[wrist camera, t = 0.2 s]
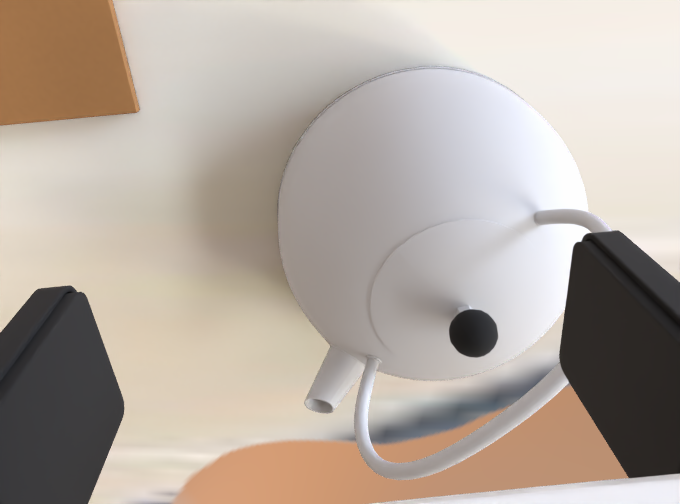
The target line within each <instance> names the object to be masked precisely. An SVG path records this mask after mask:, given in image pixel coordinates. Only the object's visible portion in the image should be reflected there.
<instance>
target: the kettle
mask: <svg viewBox="0 0 680 504" xmlns="http://www.w3.org/2000/svg"><path fill="white" fill-rule="evenodd" d="M277 213H278V238H279V248H280V254H281V260H282V264H283V268H284V271H285V275H286V278H287V280H288V283H289V286H290V288H291V290H292V293H293V295H294V297H295V298H296V300H297V302H298V304H299V306H300V307H301V309H302V310H303V312H304V314H305V315H306V316H307V318H308V319H309V321H310V322H311V323H312V324H313V326H314V327H315V328H316V329H317V331H318V332H319V333H320V334H321V335H322V336H323V338H324V339H325V340H326V341H327V342H328V343H329V344H330V348H329V350H328V353H327V355H326V357H325V359H324V361H323V363H322V365H321V367H320V370H319V372H318V374H317V376H316V378H315V380H314V382H313V384H312V386H311V389H310V391H309V393H308V395H307V397H306V399H305V402H304V404H305V406H306V407H307V408H308V409H310V410H312V411H315V412H318V413H327V414H328V413H332V412H333V411H334V410H335V408H336V407H337V406H338V404H339V403H340V402H341V400H342V399H343V398H344V397H345V395H346V394H347V393H348V391H349V390H350V389H351V388H352V386H353V385H354V384H355V382H356V381H357V380H358V379H359V377H360V376H361V375H362V373H363V376H362V379H361V383H360V387H359V391H358V395H357V400H356V406H355V416H354V429H355V437H356V441H357V446H358V448H359V451H360V453H361V456H362V458H363V459H364V461H365V462H366V464H367V465H368V466H369V467H370V468H371V469H372V470H373V471H374V472H375V473H378V474H379V475H381V476H383V477H386V478H390V479H396V480H410V479H416V478H421V477H425V476H429V475H431V474H434V473H437V472H440V471H442V470H445V469H447V468H449V467H451V466H453V465H455V464H457V463H459V462H461V461H463V460H465V459H466V458H468V457H470V456H472V455H474V454H475V453H477V452H479V451H480V450H482V449H484V448H485V447H486V446H488V445H490V444H491V443H493V442H495V441H496V440H497V439H499V438H500V437H502V436H503V435H505V434H506V433H508V432H509V431H511V430H512V429H514V428H515V427H516V426H518V425H519V424H520V423H522V422H523V421H524V420H526V419H527V418H528V417H530V416H531V415H532V414H534V413H535V412H536V411H537V410H539V409H540V408H541V407H542V406H543V405H545V404H546V403H547V402H548V401H549V400H550V399H552V398H553V397H554V396H555V395H556V394H557V393H558V392H559V391H560V390H562V389H563V388H564V387H565V386H566V385H567V384H568V383H569V381H568V379H567V378H566V376H565V375H564V373H563V371H562V368H561V364H560V362H559V363H558V364H557V366H556V367H555V368H554V369H553V370H552V371H551V372H550V373H549V374H548V375H547V376H545V377H544V378H543V379H542V380H541V381H540V382H539V383H538V384H537V385H536V386H535V387H533V388H532V389H531V390H530V391H529V392H527V393H526V394H525V395H524V396H523V397H522V398H520V399H519V400H518V401H516V402H515V403H514V404H512V405H511V406H510V407H509V408H507V409H506V410H505V411H503V412H502V413H501V414H499V415H498V416H496V417H495V418H493V419H492V420H491V421H489V422H488V423H486V424H485V425H484V426H482V427H480V428H479V429H477V430H476V431H474V432H473V433H471V434H470V435H468V436H467V437H465V438H463V439H462V440H460V441H458V442H457V443H455V444H453V445H451V446H450V447H448V448H446V449H444V450H442V451H440V452H438V453H436V454H433V455H431V456H428V457H426V458H423V459H420V460H416V461H412V462H408V463H391V462H387V461H385V460H383V459H382V458H381V457H379V456H378V455H377V453H376V452H375V450H374V449H373V446H372V444H371V441H370V437H369V432H368V408H369V402H370V397H371V392H372V388H373V384H374V380H375V376H376V373H377V371H379V372H382V373H385V374H389V375H392V376H396V377H401V378H406V379H412V380H423V381H442V380H453V379H459V378H465V377H469V376H473V375H477V374H480V373H483V372H486V371H489V370H491V369H494V368H496V367H498V366H500V365H502V364H504V363H506V362H508V361H510V360H512V359H513V358H515V357H517V356H518V355H520V354H521V353H523V352H524V351H526V350H527V349H528V348H529V347H531V346H532V345H533V344H534V343H536V342H537V341H538V340H539V339H540V338H541V337H542V336H543V335H544V334H545V333H546V332H547V331H548V330H549V329H550V328H551V327H552V325H553V324H554V323H555V322H556V320H557V319H558V318H559V316H560V315H561V314H562V312H563V311H564V309H565V306H566V298H567V290H568V282H569V274H570V267H571V259H572V251H573V246H574V244H575V243H576V242H581V241H582V238H583V237H584V235H585V234H587V233H589V230H590V231H591V232H592V233H597V232H607V231H612V229H611V228H610V227H609V226H608V225H607V224H606V223H605V222H604V221H603V220H602V219H600V218H599V217H598V216H596V215H594V214H592V213H590V212H588V205H587V199H586V194H585V189H584V185H583V182H582V179H581V176H580V173H579V171H578V168H577V166H576V164H575V161H574V159H573V157H572V156H571V154H570V152H569V150H568V148H567V147H566V145H565V144H564V142H563V141H562V139H561V138H560V136H559V135H558V134H557V132H556V131H555V130H554V129H553V128H552V126H551V125H550V124H549V123H548V122H547V121H546V120H545V119H544V118H543V117H542V116H541V115H540V114H539V113H538V112H537V111H536V110H535V109H533V108H532V107H531V106H530V105H529V104H528V103H527V102H526V101H525V100H523V99H522V98H521V97H520V96H519V95H517V94H516V93H515V92H513V91H512V90H510V89H509V88H507V87H505V86H504V85H502V84H500V83H498V82H496V81H494V80H492V79H490V78H488V77H485V76H483V75H480V74H477V73H474V72H470V71H466V70H461V69H456V68H448V67H418V68H410V69H404V70H399V71H395V72H391V73H388V74H384V75H381V76H379V77H376V78H373V79H371V80H369V81H366V82H364V83H362V84H360V85H358V86H356V87H355V88H353V89H351V90H349V91H348V92H346V93H345V94H343V95H342V96H340V97H339V98H338V99H336V100H335V101H334V102H332V103H331V104H330V105H329V106H328V107H327V108H325V109H324V110H323V111H322V112H321V113H320V114H319V115H318V116H317V117H316V118H315V119H314V121H313V122H312V123H311V124H310V125H309V126H308V128H307V129H306V130H305V132H304V133H303V135H302V136H301V137H300V139H299V141H298V142H297V144H296V146H295V147H294V149H293V151H292V153H291V155H290V157H289V160H288V162H287V164H286V167H285V170H284V173H283V177H282V180H281V185H280V190H279V197H278V212H277Z"/></svg>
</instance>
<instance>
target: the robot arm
mask: <svg viewBox="0 0 680 504" xmlns="http://www.w3.org/2000/svg"><path fill="white" fill-rule="evenodd" d="M559 358H560V364H561V368H562V371H563V373H564V375H565V376H566V378H567V379H568V381H569V383H570V384H571V386H572V387H573V389H574V391H575V392H576V394H577V395H578V397H579V399H580V400H581V402H582V403H583V405H584V407H585V408H586V410H587V411H588V413H589V415H590V416H591V418H592V419H593V421H594V423H595V424H596V426H597V427H598V429H599V431H600V432H601V434H602V435H603V437H604V439H605V440H606V442H607V443H608V445H609V447H610V448H611V450H612V451H613V453H614V455H615V456H616V458H617V459H618V461H619V463H620V464H621V466H622V468H623V469H624V471H625V472H626V474H627V476H628V477H629V478H628V479H614V480H603V481H592V482H582V483H573V484H562V485H552V486H541V487H531V488H521V489H511V490H501V491H490V492H480V493H470V494H459V495H449V496H439V497H429V498H420V499H411V500H401V501H391V502H381V503H371V504H680V282H678V281H677V280H676V279H675V278H674V277H673V276H672V275H670V274H669V273H668V272H667V271H666V270H665V269H663V268H662V267H661V266H660V265H659V264H658V263H656V262H655V261H654V260H653V259H652V258H651V257H649V256H648V255H647V254H646V253H645V252H644V251H642V250H641V249H640V248H639V247H638V246H637V245H635V244H634V243H633V242H632V241H631V240H630V239H628V238H627V237H626V236H625V235H624V234H623V233H621V232H620V231H607V232H597V233H587V234H585V235H584V237H583V238H582V241H581V242H576V243H575V244H574V246H573V251H572V259H571V267H570V274H569V282H568V290H567V298H566V306H565V314H564V322H563V330H562V337H561V345H560V354H559ZM123 415H124V401H123V397H122V394H121V391H120V389H119V386H118V383H117V380H116V377H115V375H114V372H113V369H112V366H111V363H110V361H109V358H108V355H107V352H106V349H105V347H104V344H103V341H102V338H101V335H100V333H99V330H98V327H97V324H96V321H95V319H94V316H93V313H92V310H91V308H90V305H89V302H88V299H87V297H86V295H85V294H84V293H82V292H77V291H76V290H75V289H74V288H73V287H72V286H61V287H51V288H41V289H37V290H36V291H35V292H34V293H33V294H32V296H31V297H30V298H29V299H28V300H27V302H26V303H25V304H24V305H23V306H22V308H21V309H20V310H19V311H18V312H17V314H16V315H15V316H14V317H13V318H12V320H11V321H10V322H9V323H8V324H7V326H6V327H5V328H4V329H3V331H2V332H1V333H0V504H88V502H89V500H90V497H91V495H92V492H93V490H94V487H95V485H96V483H97V480H98V478H99V475H100V473H101V470H102V468H103V465H104V463H105V460H106V458H107V455H108V453H109V450H110V448H111V446H112V443H113V441H114V438H115V436H116V433H117V431H118V428H119V426H120V423H121V421H122V418H123Z"/></svg>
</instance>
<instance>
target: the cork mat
mask: <svg viewBox="0 0 680 504" xmlns="http://www.w3.org/2000/svg"><path fill="white" fill-rule="evenodd" d="M139 110H140V109H139V105H138V101H137V97H136V93H135V89H134V85H133V81H132V77H131V73H130V69H129V65H128V61H127V57H126V53H125V49H124V45H123V41H122V37H121V33H120V29H119V25H118V21H117V17H116V13H115V9H114V5H113V1H112V0H0V125H10V124H21V123H31V122H42V121H53V120H63V119H74V118H85V117H95V116H106V115H117V114H127V113H137V112H138V111H139Z"/></svg>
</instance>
